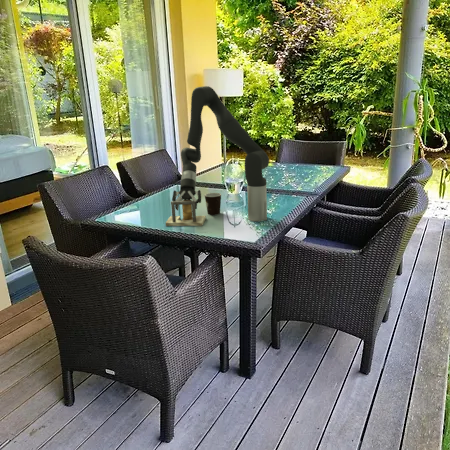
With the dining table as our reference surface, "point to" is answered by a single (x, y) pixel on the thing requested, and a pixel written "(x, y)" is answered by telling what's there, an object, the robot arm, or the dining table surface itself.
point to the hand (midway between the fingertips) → (185, 209)
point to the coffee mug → (213, 203)
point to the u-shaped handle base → (176, 220)
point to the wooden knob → (187, 211)
